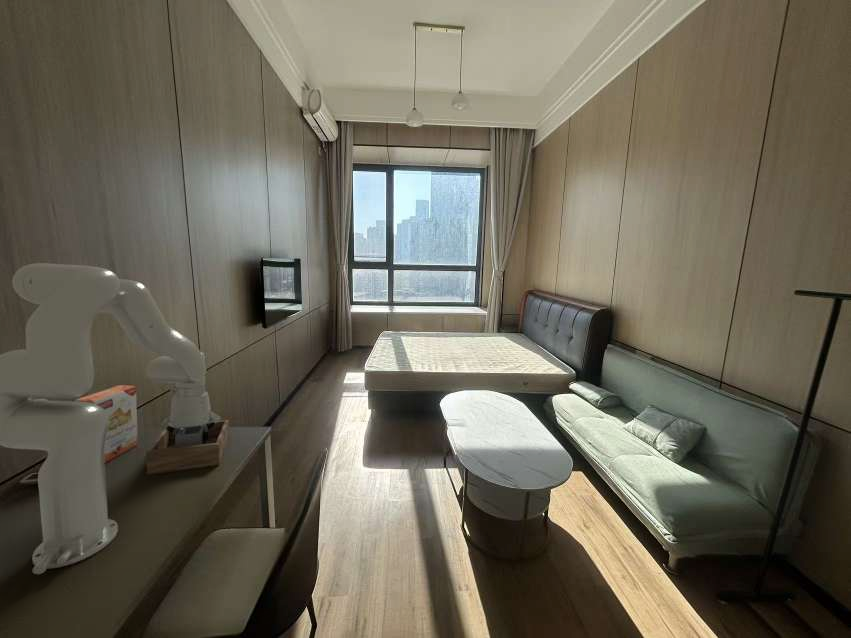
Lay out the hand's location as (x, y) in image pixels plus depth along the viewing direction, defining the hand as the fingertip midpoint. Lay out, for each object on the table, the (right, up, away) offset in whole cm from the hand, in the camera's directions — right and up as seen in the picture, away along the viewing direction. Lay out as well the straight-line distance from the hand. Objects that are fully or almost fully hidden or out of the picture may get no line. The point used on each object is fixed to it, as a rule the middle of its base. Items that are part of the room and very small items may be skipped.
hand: (192, 442), depth 106 cm
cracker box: (-24, -3, -3) cm, 24 cm away
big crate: (0, -4, +1) cm, 4 cm away
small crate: (0, -1, 0) cm, 1 cm away
